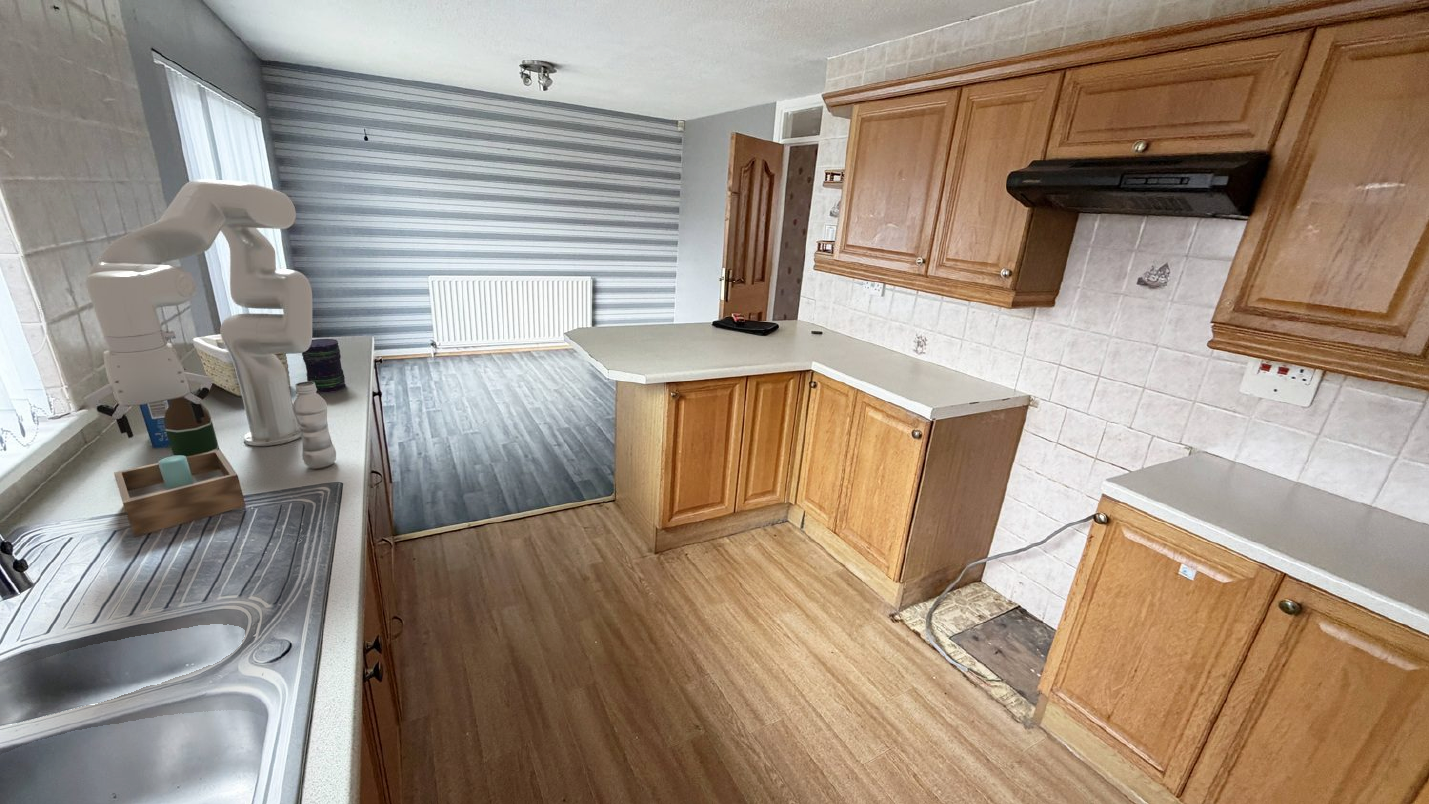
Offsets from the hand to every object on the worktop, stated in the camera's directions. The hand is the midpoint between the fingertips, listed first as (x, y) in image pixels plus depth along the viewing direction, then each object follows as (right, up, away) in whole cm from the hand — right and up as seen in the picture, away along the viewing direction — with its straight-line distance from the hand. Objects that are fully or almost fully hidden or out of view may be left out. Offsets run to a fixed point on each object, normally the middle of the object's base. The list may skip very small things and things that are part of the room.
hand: (165, 428), depth 107 cm
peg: (-1, -16, +5) cm, 16 cm away
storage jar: (-18, +9, +72) cm, 74 cm away
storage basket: (-42, +10, +71) cm, 83 cm away
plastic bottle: (+14, -10, +23) cm, 29 cm away
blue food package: (-30, -4, +33) cm, 45 cm away
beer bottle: (-10, -10, +19) cm, 24 cm away
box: (-1, -16, +5) cm, 16 cm away
